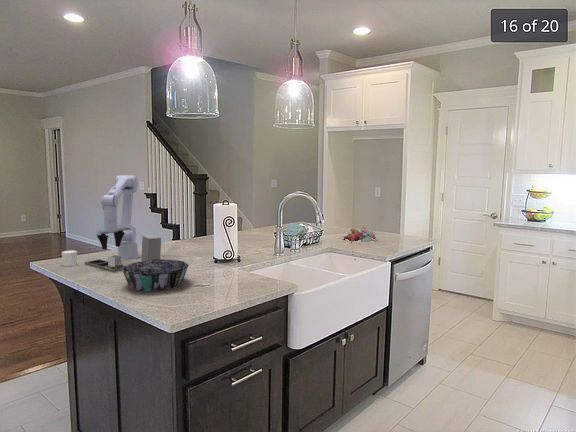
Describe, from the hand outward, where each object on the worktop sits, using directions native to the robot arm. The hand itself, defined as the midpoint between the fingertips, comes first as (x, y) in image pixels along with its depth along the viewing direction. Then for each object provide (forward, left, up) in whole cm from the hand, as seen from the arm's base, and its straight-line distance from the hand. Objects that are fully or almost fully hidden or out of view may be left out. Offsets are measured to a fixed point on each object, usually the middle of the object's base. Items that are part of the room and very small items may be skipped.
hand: (111, 247), depth 203 cm
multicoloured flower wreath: (-152, +62, -10) cm, 164 cm away
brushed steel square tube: (+1, +4, -9) cm, 10 cm away
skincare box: (-12, +14, -10) cm, 21 cm away
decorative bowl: (+5, +39, -10) cm, 40 cm away
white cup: (+10, -19, -10) cm, 23 cm away
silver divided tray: (+1, -3, -10) cm, 10 cm away
